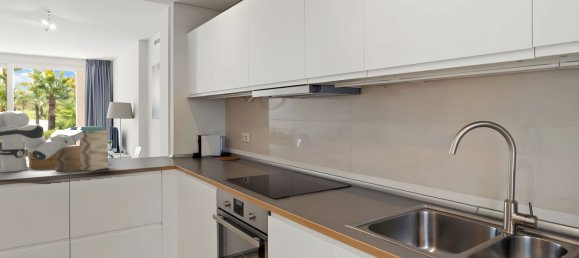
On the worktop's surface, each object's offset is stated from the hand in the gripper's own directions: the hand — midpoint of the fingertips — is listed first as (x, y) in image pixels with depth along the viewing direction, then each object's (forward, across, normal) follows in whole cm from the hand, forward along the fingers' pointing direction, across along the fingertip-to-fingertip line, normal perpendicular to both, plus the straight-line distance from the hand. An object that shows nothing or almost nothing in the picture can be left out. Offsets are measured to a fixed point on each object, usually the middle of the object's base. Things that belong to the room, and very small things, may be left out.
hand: (76, 128), depth 217 cm
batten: (+7, 0, -6) cm, 9 cm away
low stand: (-8, -13, -28) cm, 32 cm away
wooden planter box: (-1, -40, -32) cm, 51 cm away
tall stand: (-2, 0, -31) cm, 31 cm away
